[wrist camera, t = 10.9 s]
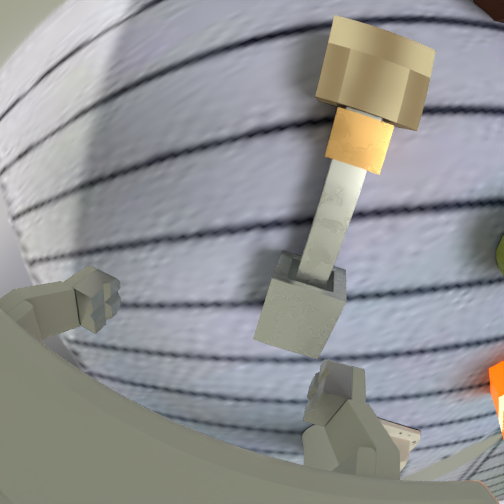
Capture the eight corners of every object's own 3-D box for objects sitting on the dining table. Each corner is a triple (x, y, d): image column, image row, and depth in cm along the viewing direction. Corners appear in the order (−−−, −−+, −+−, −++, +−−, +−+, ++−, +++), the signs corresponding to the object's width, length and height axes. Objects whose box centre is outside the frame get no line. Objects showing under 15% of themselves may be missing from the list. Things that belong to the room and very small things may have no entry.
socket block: (415, 62, 21) (435, 50, 15) (399, 127, 24) (417, 131, 19) (334, 35, 22) (334, 15, 16) (318, 101, 25) (315, 96, 20)
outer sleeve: (345, 270, 32) (346, 301, 27) (321, 324, 36) (317, 359, 30) (282, 250, 33) (271, 278, 27) (265, 307, 36) (253, 339, 31)
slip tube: (388, 97, 23) (402, 92, 18) (331, 272, 32) (330, 303, 27) (343, 82, 24) (346, 73, 18) (293, 259, 33) (284, 288, 27)
